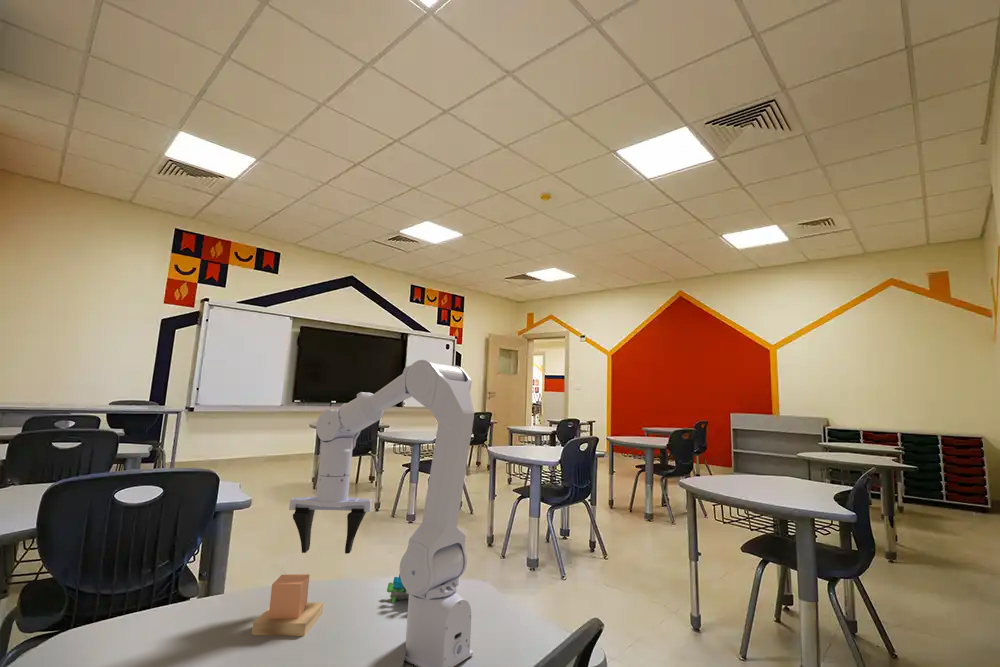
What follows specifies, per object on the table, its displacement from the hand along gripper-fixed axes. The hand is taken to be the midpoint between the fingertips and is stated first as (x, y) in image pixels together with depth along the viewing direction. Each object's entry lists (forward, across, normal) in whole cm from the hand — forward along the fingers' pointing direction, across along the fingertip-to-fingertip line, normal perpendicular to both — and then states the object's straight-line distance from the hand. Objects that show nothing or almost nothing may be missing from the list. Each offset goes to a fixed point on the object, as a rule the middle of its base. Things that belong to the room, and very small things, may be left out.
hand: (326, 551), depth 84 cm
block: (+7, +3, +8) cm, 11 cm away
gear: (+10, -17, -2) cm, 20 cm away
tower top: (+9, +3, +8) cm, 12 cm away
